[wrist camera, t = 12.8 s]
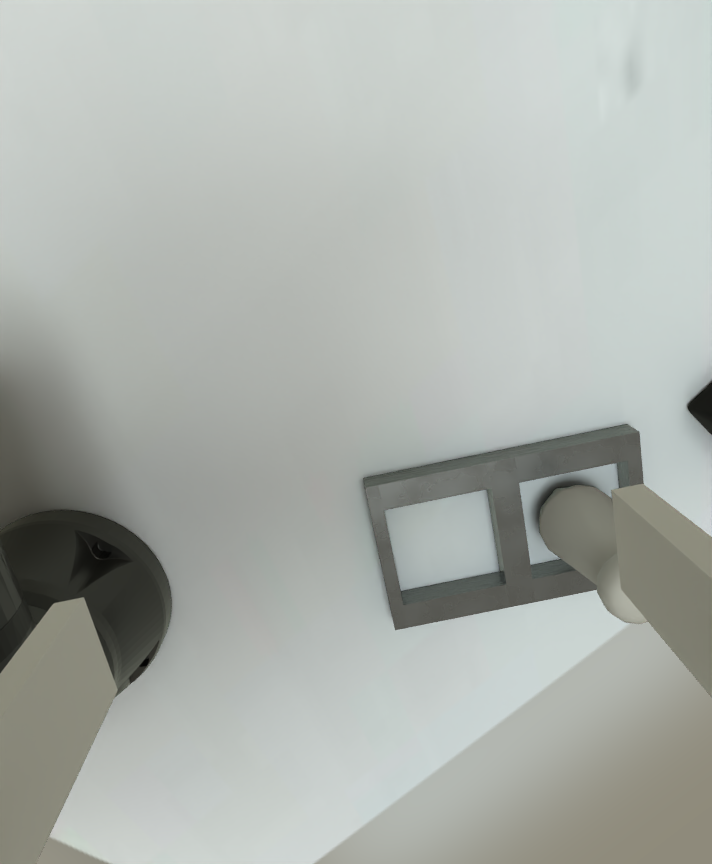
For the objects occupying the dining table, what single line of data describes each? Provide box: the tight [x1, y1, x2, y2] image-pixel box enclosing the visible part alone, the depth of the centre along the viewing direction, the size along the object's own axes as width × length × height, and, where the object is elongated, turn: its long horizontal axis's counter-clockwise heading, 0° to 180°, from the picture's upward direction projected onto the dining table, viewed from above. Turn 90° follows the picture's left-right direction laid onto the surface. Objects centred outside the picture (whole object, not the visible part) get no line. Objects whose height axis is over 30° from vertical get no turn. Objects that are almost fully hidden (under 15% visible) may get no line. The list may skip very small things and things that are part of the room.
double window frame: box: [364, 424, 644, 630], centre depth 50 cm, size 20×12×2 cm, turn 101°
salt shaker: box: [539, 485, 648, 624], centre depth 44 cm, size 6×6×13 cm
